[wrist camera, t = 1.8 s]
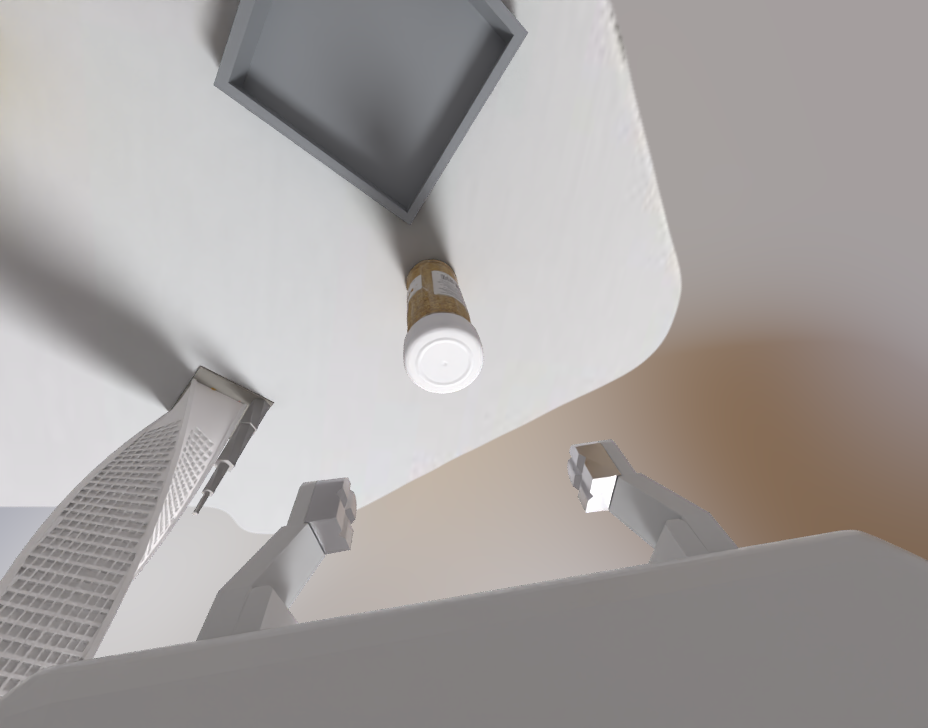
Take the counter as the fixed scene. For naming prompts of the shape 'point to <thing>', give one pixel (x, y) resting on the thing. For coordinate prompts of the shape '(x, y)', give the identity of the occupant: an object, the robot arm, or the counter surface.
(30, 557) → the skyscraper
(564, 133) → the counter surface
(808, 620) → the robot arm
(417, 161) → the tray
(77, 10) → the counter surface
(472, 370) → the sprinkles bottle
